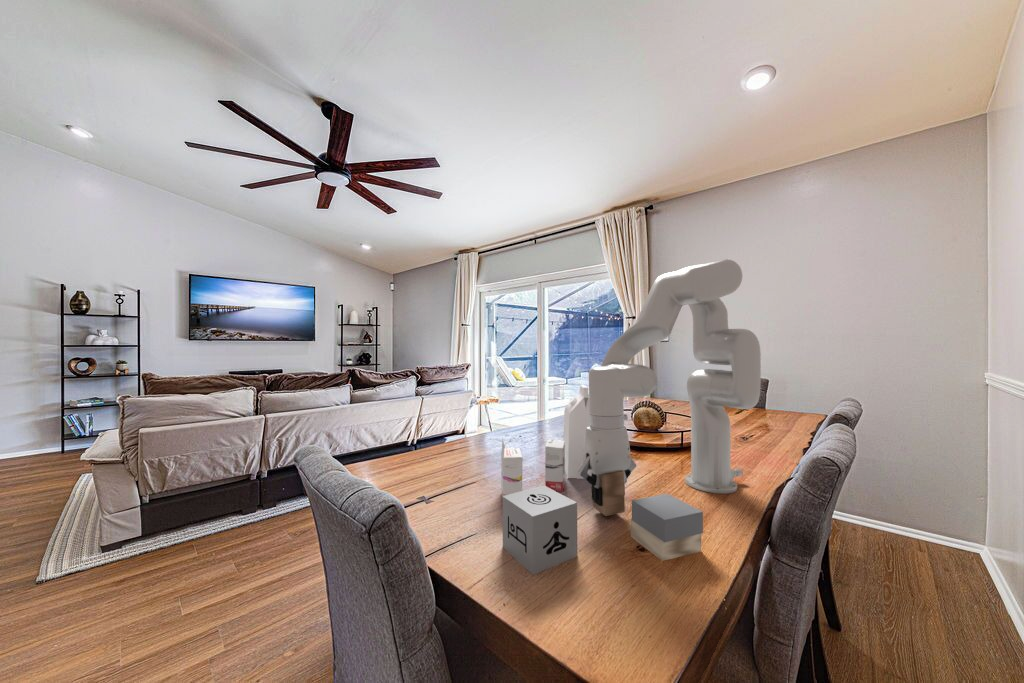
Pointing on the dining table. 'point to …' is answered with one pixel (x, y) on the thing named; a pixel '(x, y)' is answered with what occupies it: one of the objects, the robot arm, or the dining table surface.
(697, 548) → the tower base
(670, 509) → the tower top
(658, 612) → the dining table surface
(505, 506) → the icon cube
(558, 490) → the ink box
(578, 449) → the milk
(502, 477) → the ink cartridge box
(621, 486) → the walnut block
